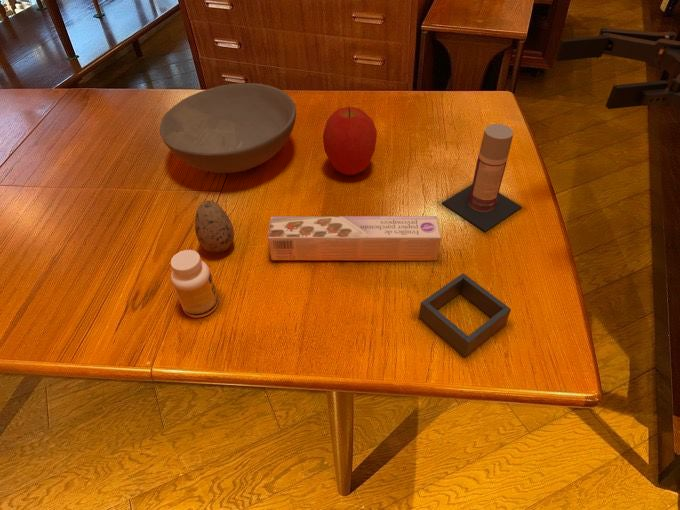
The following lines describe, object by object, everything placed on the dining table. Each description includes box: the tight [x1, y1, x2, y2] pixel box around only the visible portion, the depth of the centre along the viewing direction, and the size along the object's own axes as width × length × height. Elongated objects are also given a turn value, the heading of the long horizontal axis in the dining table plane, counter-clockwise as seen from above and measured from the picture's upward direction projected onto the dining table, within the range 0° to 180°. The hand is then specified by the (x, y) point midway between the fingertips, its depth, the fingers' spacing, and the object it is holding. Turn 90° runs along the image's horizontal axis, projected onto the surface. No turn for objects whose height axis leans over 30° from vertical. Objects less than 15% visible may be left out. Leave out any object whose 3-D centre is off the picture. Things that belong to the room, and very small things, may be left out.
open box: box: [418, 272, 512, 358], centre depth 69 cm, size 9×9×4 cm
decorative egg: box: [194, 200, 235, 254], centre depth 78 cm, size 6×6×10 cm
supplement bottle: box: [170, 249, 219, 318], centre depth 70 cm, size 5×5×10 cm
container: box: [469, 123, 514, 213], centre depth 82 cm, size 5×5×15 cm
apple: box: [322, 105, 378, 176], centre depth 92 cm, size 10×10×14 cm
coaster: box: [441, 184, 523, 233], centre depth 88 cm, size 10×10×1 cm
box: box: [267, 215, 442, 261], centre depth 79 cm, size 27×5×6 cm, turn 89°
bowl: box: [159, 82, 297, 174], centre depth 97 cm, size 26×26×10 cm
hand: (582, 72), depth 63 cm, fingers open, 13 cm apart
